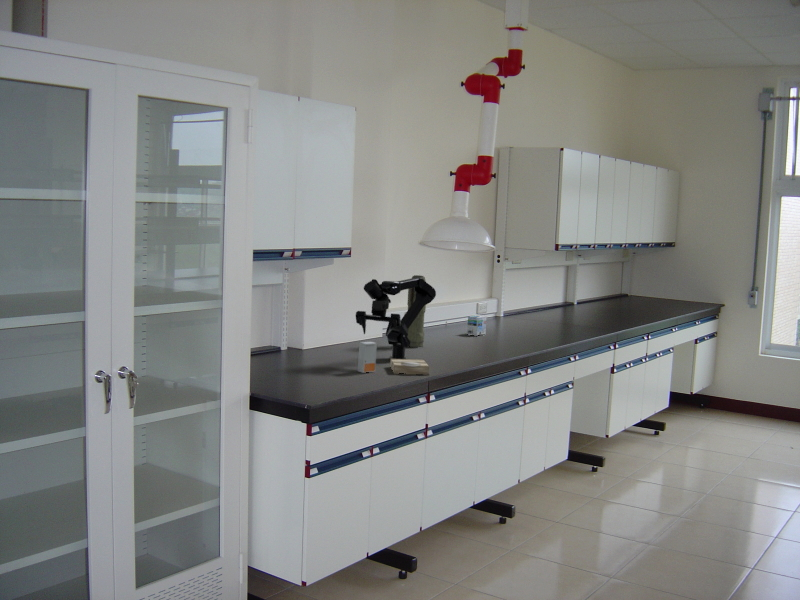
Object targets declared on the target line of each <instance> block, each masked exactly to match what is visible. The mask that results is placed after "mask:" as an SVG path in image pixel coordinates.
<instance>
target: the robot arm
mask: <svg viewBox="0 0 800 600" xmlns="http://www.w3.org/2000/svg"><path fill="white" fill-rule="evenodd" d="M371 279H372V280H369V281H368V282H366V283H365V284H364V286H363V290H364V292H365V293H366V294H367V295H368V297H369V298H370V299H372V303H371V314H367V311H365V310H356V312H355V321H356V324H358V325H359V326H361V327H362V331H363V335H365V334H366V332H367V330H366V329H367V323H366V322H367V320H368V321H376V322H384V323H388V325H387V328H386V332H385V337H387V342H388V345H392V349H391V351H392V352H391V355H390V356H389V358H390V359H407V357H405V356H406V355H405V354H406V348H409V347H408V346H410V340H409V339H408V338H407V336H408V329H409V327H410V326H411V324H412V323H413V321H414V320H415V318H416V317H417V316H418V314H419V313H420V311H421V310H422V308H423V307H424V306H425V305H428V304H431V302H433V300H435V298H436V296H437V291H436V289H435V288H434V287H433V286H432V285H430V284H429V283H428V282H427V281H426V282H425V281H424V279H422V278H418V277H414V278H412V277H411V278H408V279H402V280H398V281H397V280H396V281H394V280H383V281H382V282H381V283H379V282H378V279H375V278H371ZM410 288H414V291H415V292H416V294H415V301H414V302H413V304H412V305H411V307H410V308H409V309H408V308H407V311H406V312H405V313H404V315H403V317H401V315H400V314H399V313H390V316H386V315H387V311H388V310H389V307H390V304H391V303H392V301H391V299H390V297H389V296H395V295H398V294H400V293H401V292H402V291H404V290H408V289H410ZM388 295H389V296H388Z"/></svg>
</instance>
